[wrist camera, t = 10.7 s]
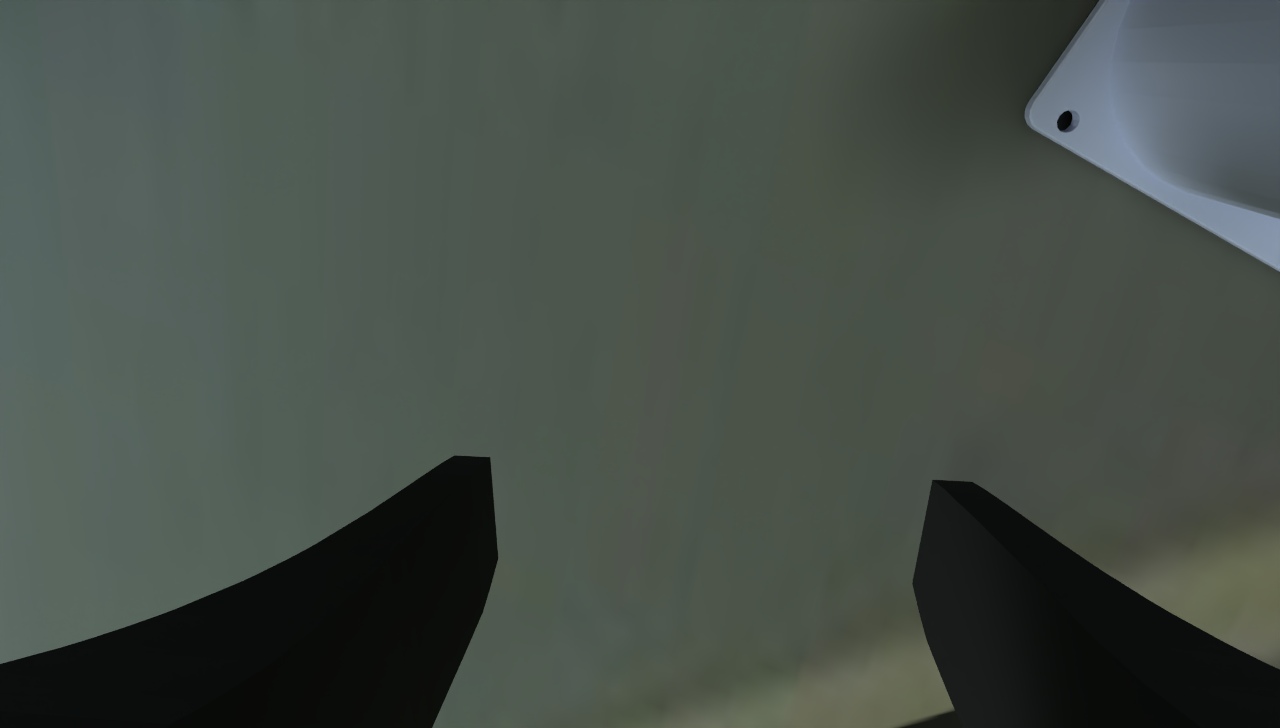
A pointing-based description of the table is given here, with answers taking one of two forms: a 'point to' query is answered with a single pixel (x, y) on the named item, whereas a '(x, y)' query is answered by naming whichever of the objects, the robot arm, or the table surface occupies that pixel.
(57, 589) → the table surface
